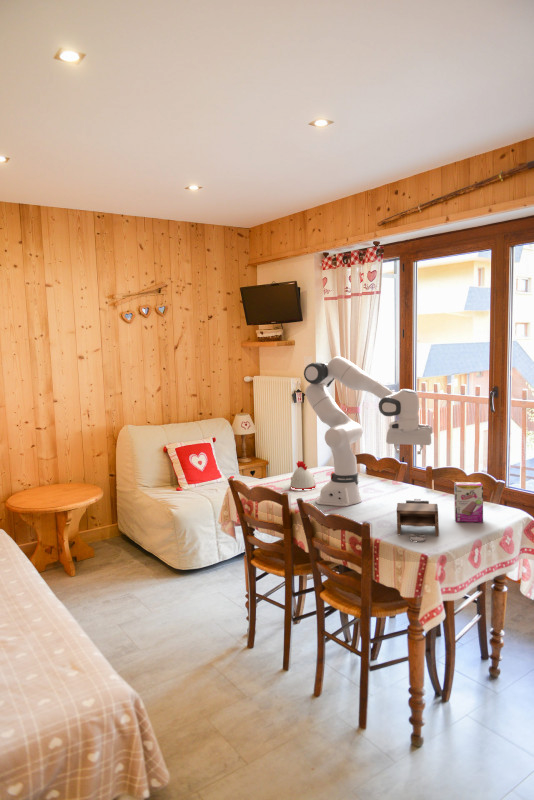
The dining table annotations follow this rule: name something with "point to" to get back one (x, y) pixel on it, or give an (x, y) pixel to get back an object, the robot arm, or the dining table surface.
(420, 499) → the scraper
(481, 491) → the candy bar box
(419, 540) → the steel puck
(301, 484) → the kitchen timer
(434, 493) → the dining table surface
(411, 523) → the walnut cabinet
